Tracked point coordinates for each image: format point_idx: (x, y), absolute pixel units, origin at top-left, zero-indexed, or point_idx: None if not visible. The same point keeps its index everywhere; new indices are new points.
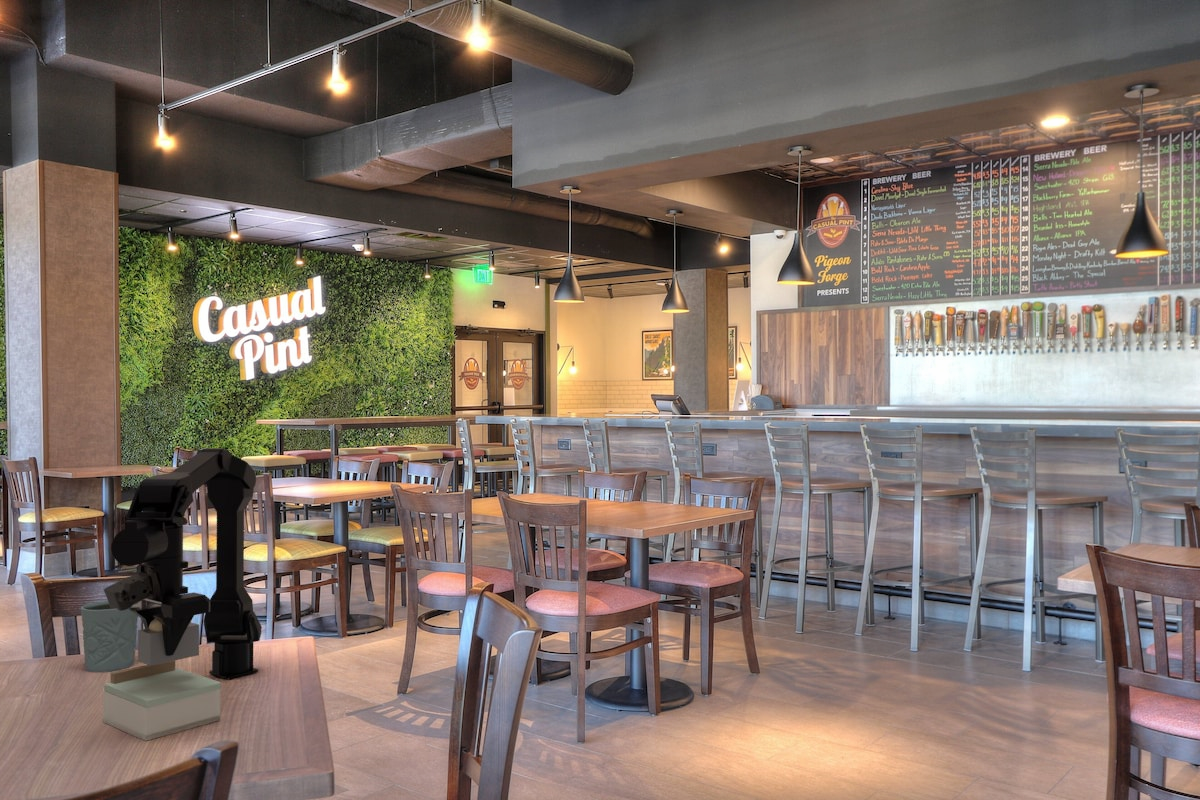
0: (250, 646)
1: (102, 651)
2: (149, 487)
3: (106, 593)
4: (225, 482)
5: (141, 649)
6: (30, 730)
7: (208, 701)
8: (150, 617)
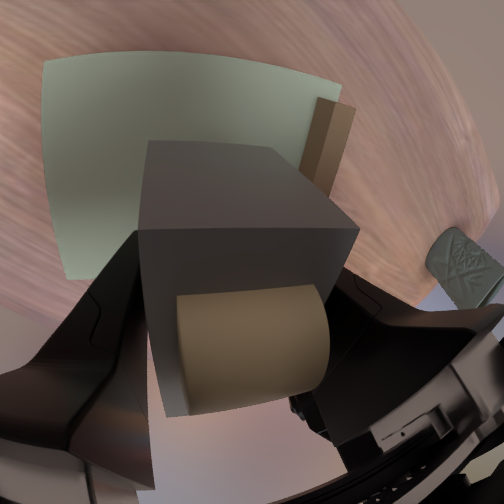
0: None
1: (458, 249)
2: None
3: None
4: None
5: (259, 166)
6: (371, 4)
7: None
8: (372, 352)
